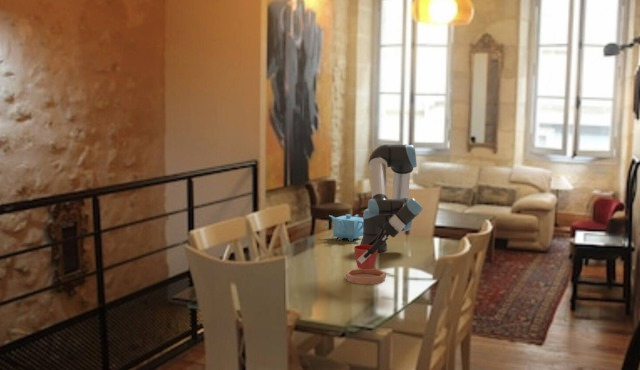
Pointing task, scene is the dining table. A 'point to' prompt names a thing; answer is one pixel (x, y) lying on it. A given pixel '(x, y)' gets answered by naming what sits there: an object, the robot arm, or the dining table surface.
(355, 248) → the flower pot
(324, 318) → the dining table surface
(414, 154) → the robot arm
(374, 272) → the terracotta saucer
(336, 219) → the teakettle
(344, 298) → the dining table surface
